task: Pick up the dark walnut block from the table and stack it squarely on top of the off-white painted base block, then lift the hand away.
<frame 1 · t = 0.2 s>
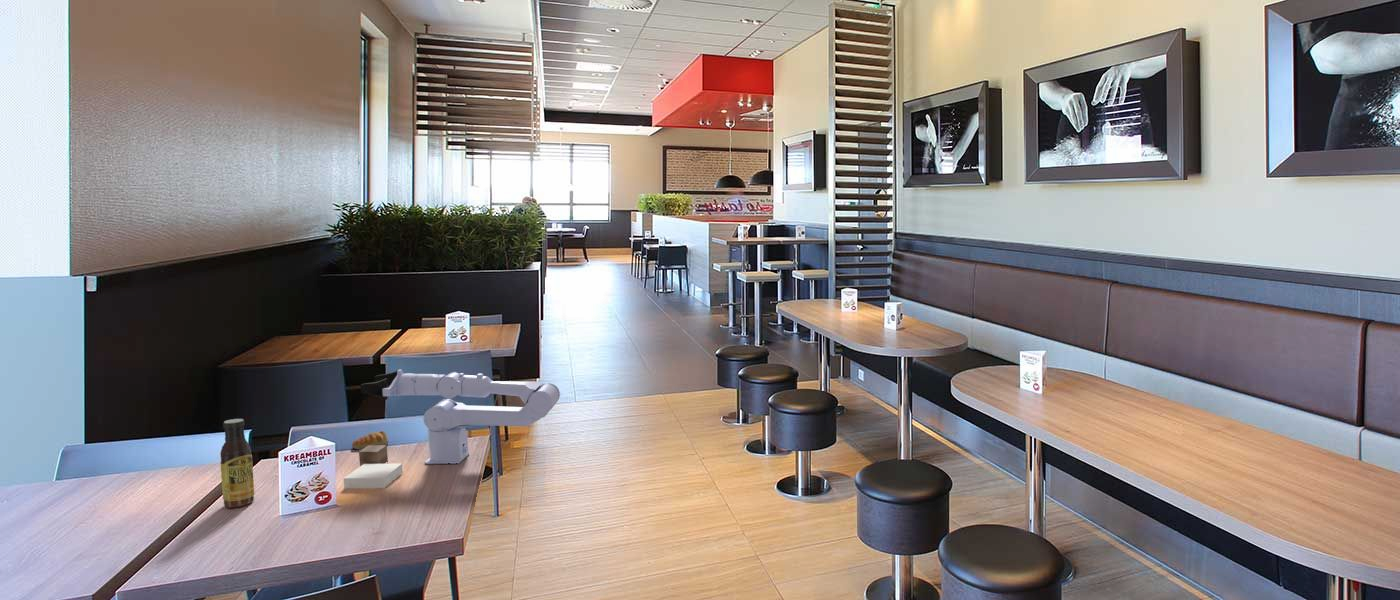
hand: (368, 384, 193), 21 cm above the table, tool horizontal, fingers open, 7 cm apart
base block: (374, 482, 181), on the table
pastry: (372, 446, 208), on the table
walnut block: (374, 466, 191), on the table
sauce bottle: (240, 504, 168), on the table
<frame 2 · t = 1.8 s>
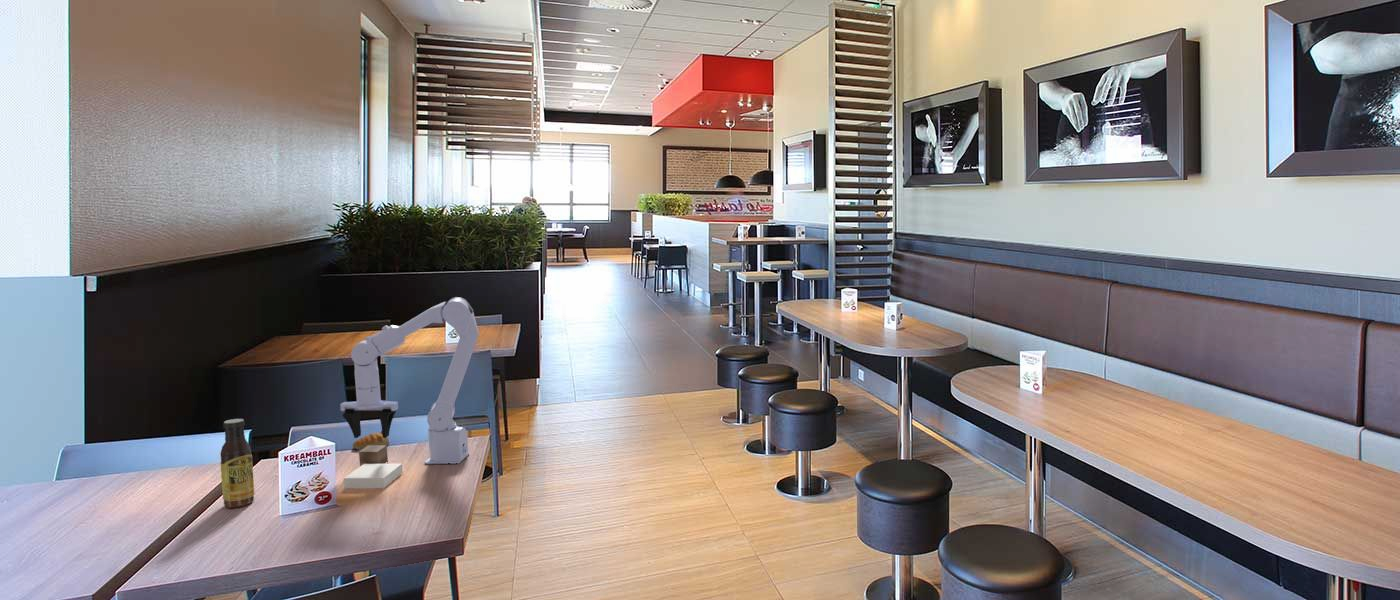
hand: (371, 436, 190), 8 cm above the table, tool pointing down, fingers open, 7 cm apart
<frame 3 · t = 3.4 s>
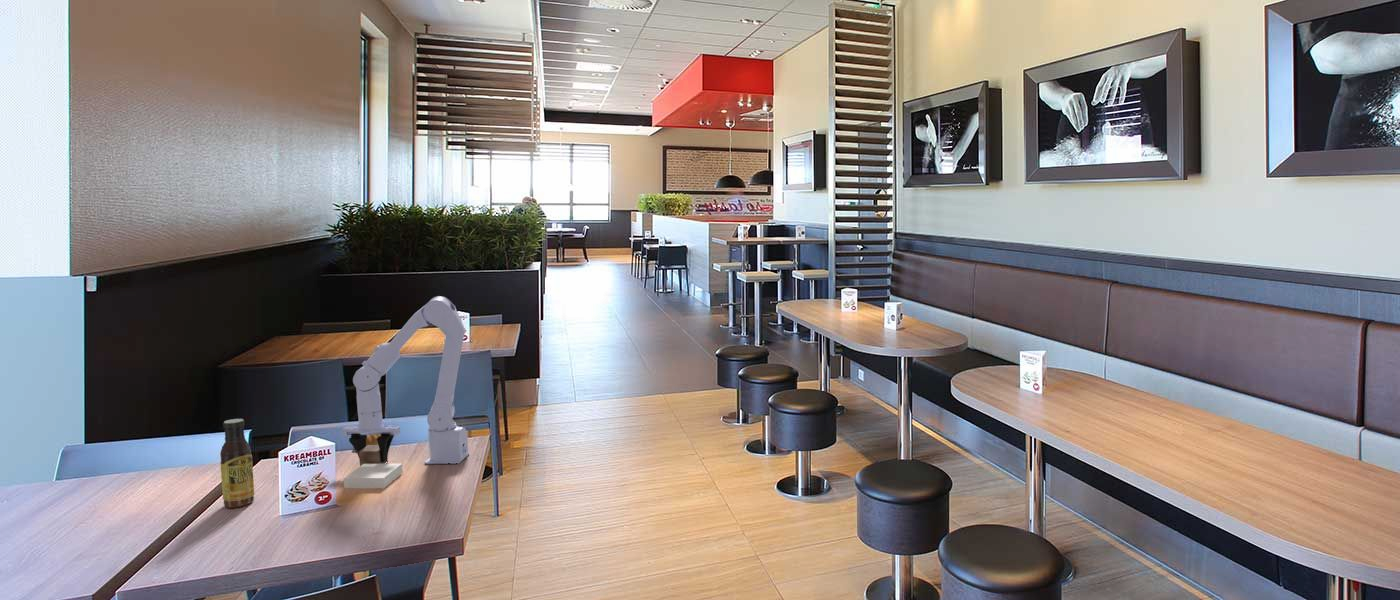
hand: (373, 461, 190), 1 cm above the table, tool pointing down, fingers closed on walnut block, 5 cm apart
walnut block: (374, 466, 191), on the table, touching gripper
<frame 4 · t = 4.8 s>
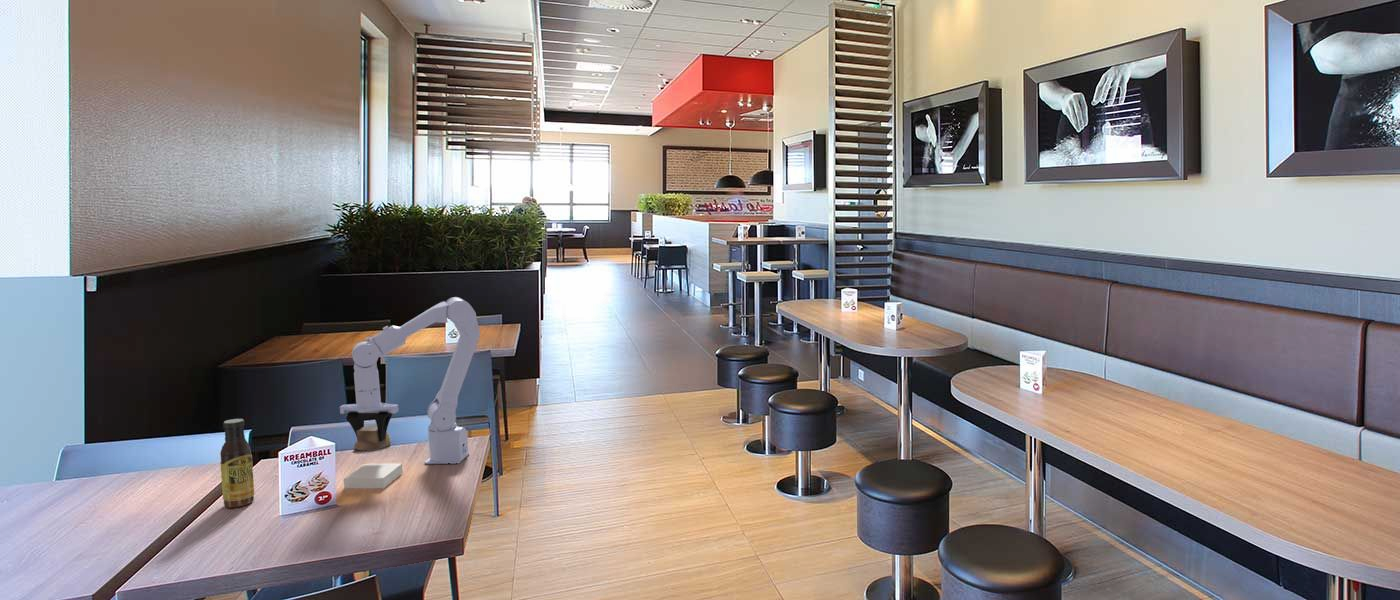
hand: (371, 439, 186), 8 cm above the table, tool pointing down, fingers closed on walnut block, 5 cm apart
walnut block: (372, 446, 186), point 7 cm above the table, touching gripper
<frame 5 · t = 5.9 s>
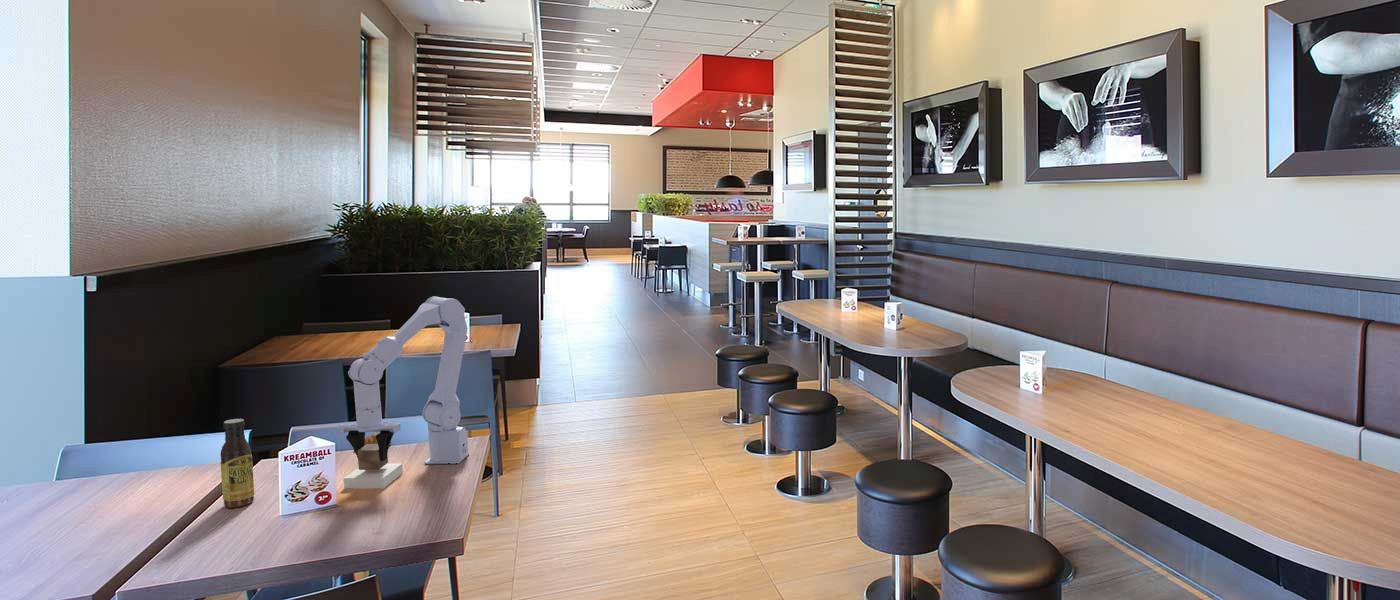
hand: (372, 459, 180), 5 cm above the table, tool pointing down, fingers closed on walnut block, 5 cm apart
walnut block: (373, 466, 180), point 4 cm above the table, touching gripper
when the fingers open (5 cm above the table, at t = 6.7 s): walnut block drops 1 cm, resting on base block.
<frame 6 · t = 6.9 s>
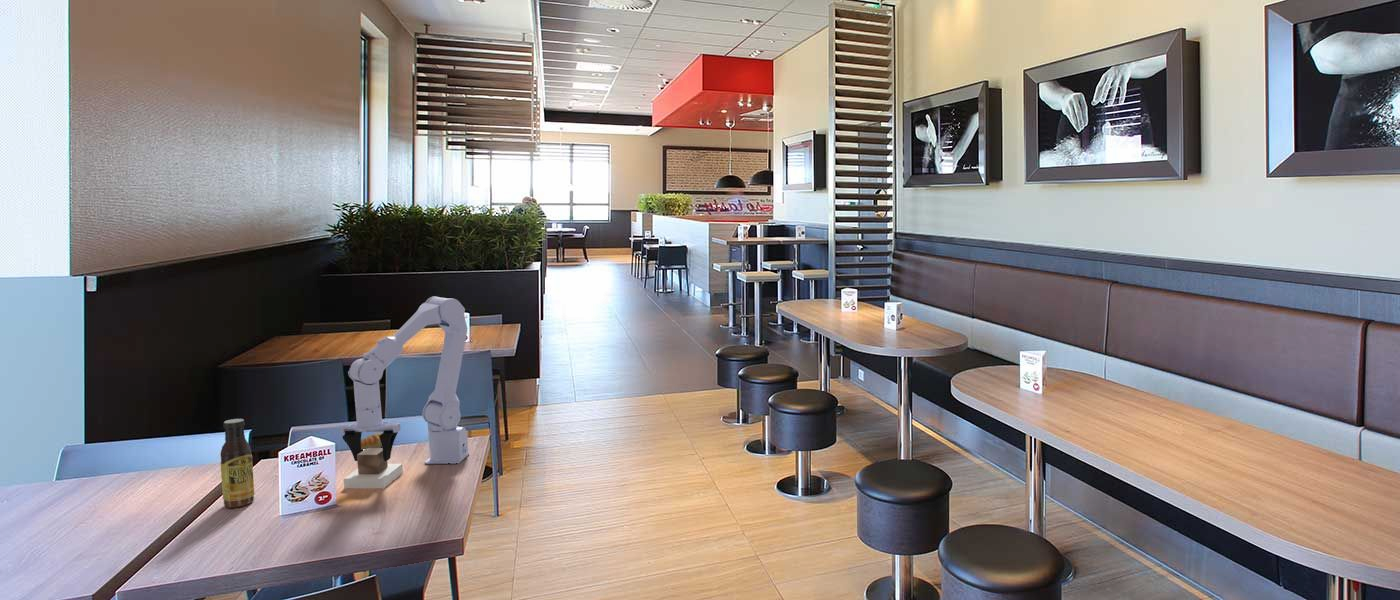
hand: (372, 459, 180), 5 cm above the table, tool pointing down, fingers open, 7 cm apart
base block: (374, 482, 181), on the table, touching walnut block
walnut block: (373, 470, 180), point 2 cm above the table, touching base block
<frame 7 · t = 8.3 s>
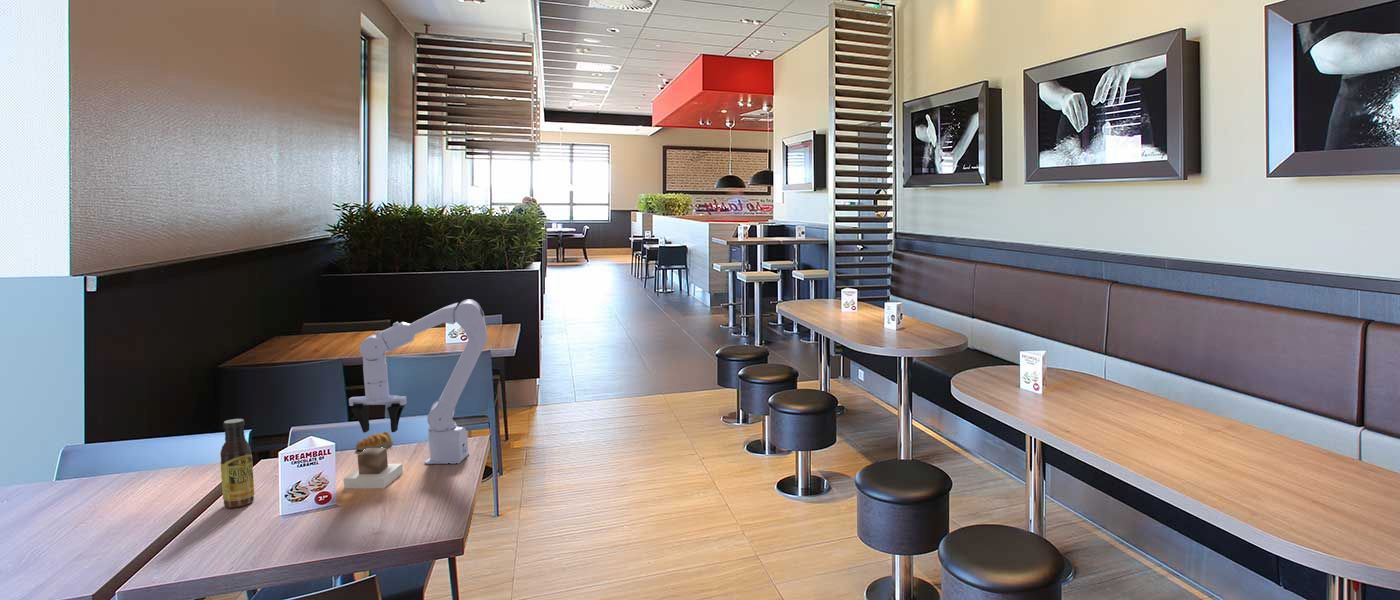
hand: (380, 431, 190), 9 cm above the table, tool pointing down, fingers open, 7 cm apart
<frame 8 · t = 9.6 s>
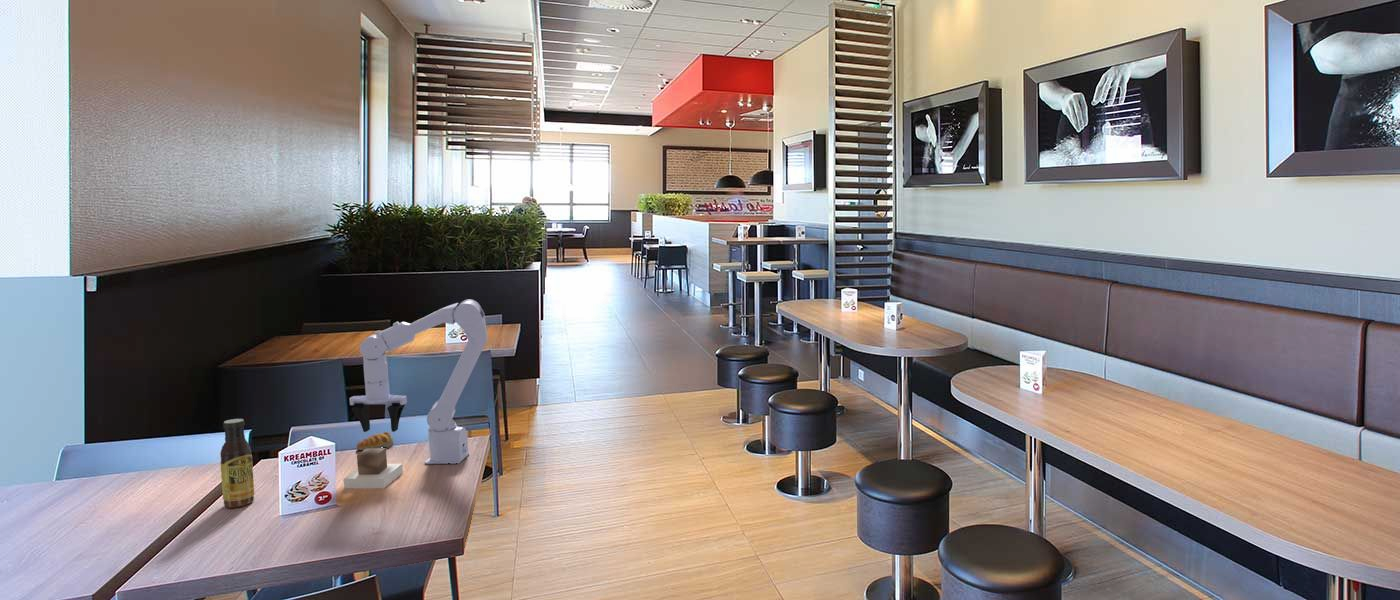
hand: (380, 430, 190), 9 cm above the table, tool pointing down, fingers open, 7 cm apart
at the end: walnut block 0.1 cm off-centre on the base block, point 3.1 cm above the base block's base; walnut block tilted 1°; the gripper is holding nothing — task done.
